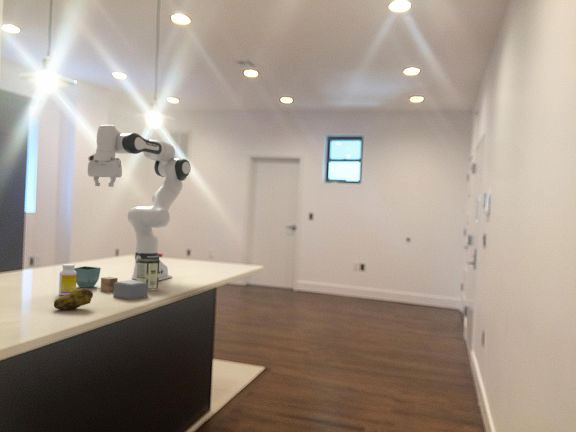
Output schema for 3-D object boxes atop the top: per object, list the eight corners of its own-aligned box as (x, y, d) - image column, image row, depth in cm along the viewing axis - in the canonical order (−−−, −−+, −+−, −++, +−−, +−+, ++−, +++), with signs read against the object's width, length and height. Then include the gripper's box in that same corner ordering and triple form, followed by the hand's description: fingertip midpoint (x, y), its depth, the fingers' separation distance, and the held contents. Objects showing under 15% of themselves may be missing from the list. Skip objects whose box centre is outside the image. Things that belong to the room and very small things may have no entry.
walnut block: (109, 289, 228) (109, 276, 228) (116, 291, 226) (117, 278, 226) (100, 290, 224) (101, 277, 224) (108, 292, 221) (108, 279, 221)
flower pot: (89, 289, 227) (90, 269, 227) (72, 287, 228) (73, 268, 228) (100, 286, 235) (101, 267, 235) (83, 284, 237) (84, 266, 237)
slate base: (130, 293, 221) (131, 279, 221) (147, 296, 216) (148, 282, 216) (113, 296, 212) (114, 281, 212) (130, 299, 207) (130, 284, 207)
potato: (58, 306, 187) (59, 285, 187) (93, 307, 189) (94, 286, 189) (51, 311, 179) (52, 289, 179) (88, 312, 181) (89, 290, 181)
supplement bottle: (78, 295, 211) (79, 265, 211) (62, 296, 207) (63, 266, 206) (71, 292, 216) (73, 263, 216) (56, 293, 211) (57, 264, 211)
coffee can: (144, 286, 241) (145, 257, 241) (162, 288, 238) (163, 259, 238) (131, 289, 232) (132, 259, 231) (149, 291, 228) (151, 261, 228)
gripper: (125, 158, 235) (124, 187, 235) (96, 158, 245) (95, 186, 245) (115, 157, 230) (114, 186, 230) (85, 157, 239) (84, 185, 240)
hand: (104, 186), depth 238 cm, fingers open, 8 cm apart
